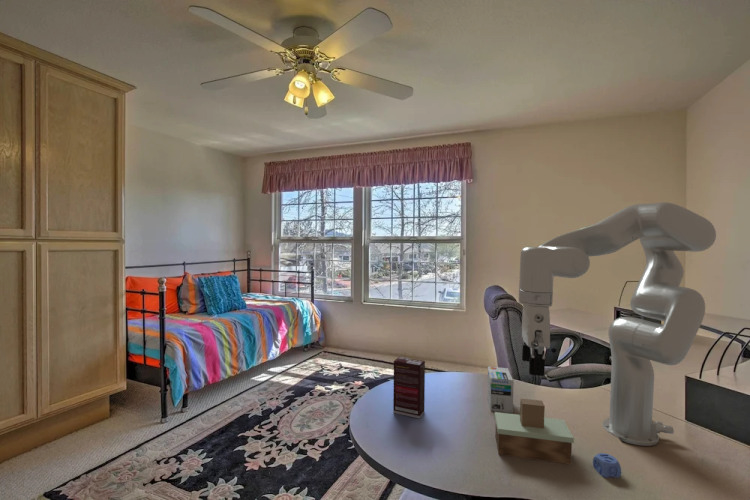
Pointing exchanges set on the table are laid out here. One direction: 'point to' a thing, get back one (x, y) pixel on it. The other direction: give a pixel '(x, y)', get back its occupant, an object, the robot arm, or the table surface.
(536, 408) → the lid
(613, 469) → the decorative dice
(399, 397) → the supplement box
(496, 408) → the light bulb box
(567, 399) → the table surface
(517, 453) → the keepsake box
